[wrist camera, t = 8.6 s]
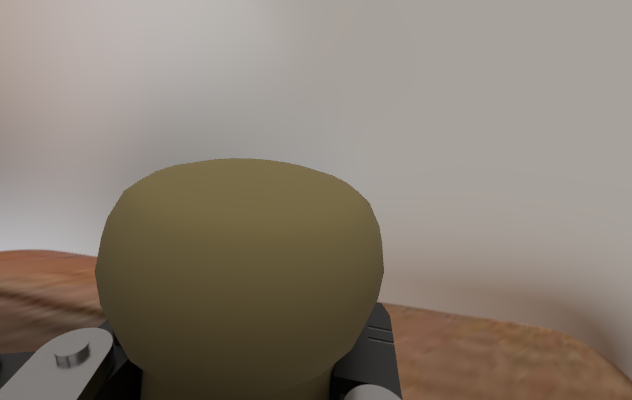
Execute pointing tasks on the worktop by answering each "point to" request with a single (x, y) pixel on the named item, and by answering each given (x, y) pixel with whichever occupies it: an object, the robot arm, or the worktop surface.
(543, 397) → the worktop surface
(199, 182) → the cork
